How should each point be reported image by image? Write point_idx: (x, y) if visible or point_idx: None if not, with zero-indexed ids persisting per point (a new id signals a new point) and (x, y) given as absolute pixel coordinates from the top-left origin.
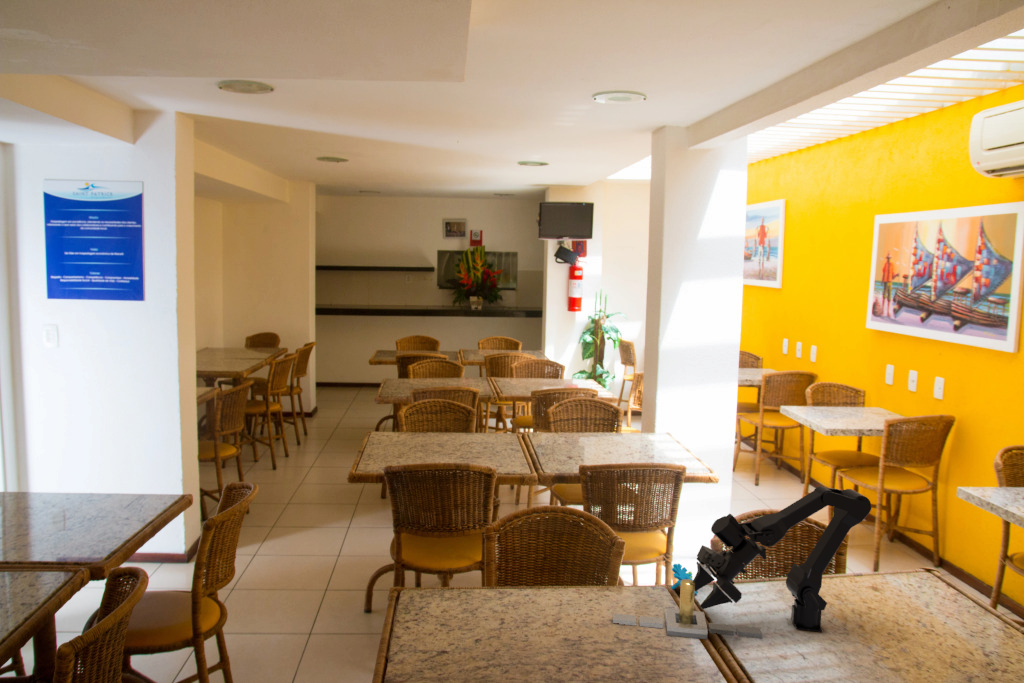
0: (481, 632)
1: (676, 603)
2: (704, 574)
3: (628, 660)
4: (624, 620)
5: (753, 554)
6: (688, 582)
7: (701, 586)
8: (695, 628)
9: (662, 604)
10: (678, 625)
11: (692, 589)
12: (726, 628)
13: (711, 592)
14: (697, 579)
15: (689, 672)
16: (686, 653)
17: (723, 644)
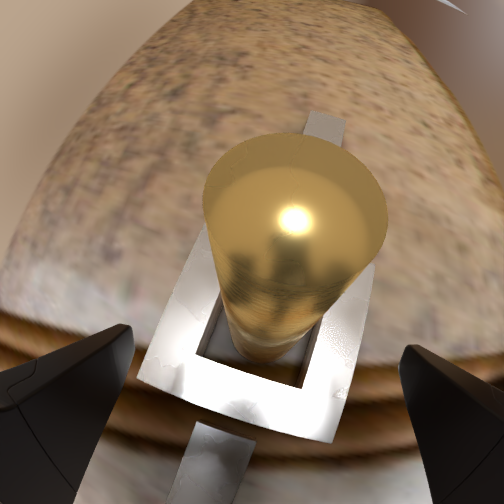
0: (278, 12)
1: (458, 358)
2: (502, 485)
3: (124, 115)
4: (304, 130)
5: None
6: (287, 198)
7: (425, 449)
8: (164, 327)
9: (449, 301)
10: (207, 260)
11: (213, 255)
12: (190, 494)
13: (19, 391)
14: (471, 411)
15: (23, 225)
16: (88, 254)
17: (106, 423)
